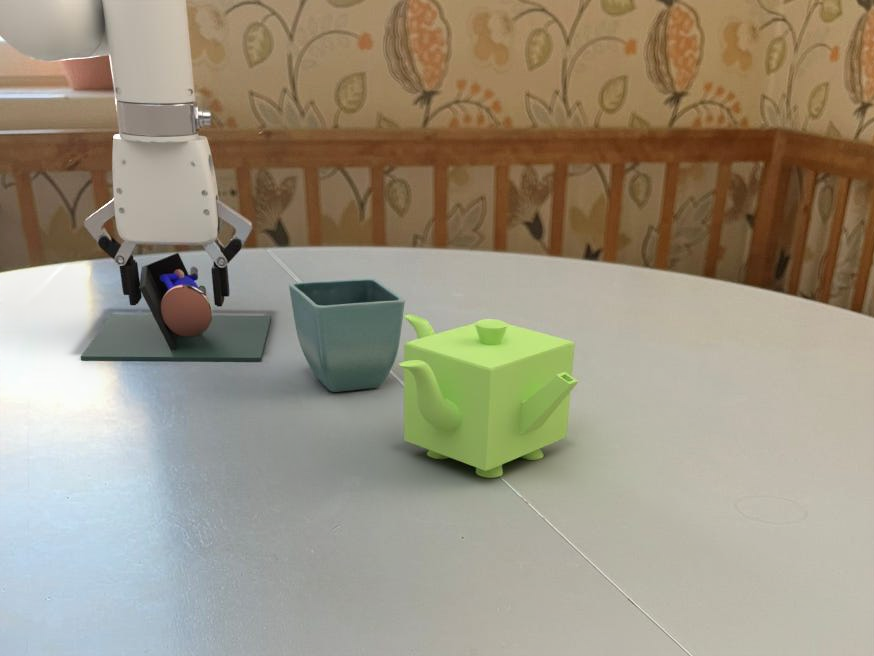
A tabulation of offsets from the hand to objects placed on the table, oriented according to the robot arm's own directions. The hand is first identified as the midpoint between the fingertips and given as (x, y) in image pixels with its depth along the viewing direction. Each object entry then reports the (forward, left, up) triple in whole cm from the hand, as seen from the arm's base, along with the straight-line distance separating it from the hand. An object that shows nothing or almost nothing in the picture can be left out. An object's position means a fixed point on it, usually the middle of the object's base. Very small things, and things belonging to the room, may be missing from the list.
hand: (178, 302), depth 112 cm
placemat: (0, 0, -4) cm, 4 cm away
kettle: (+29, -33, -4) cm, 44 cm away
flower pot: (+18, -15, -4) cm, 24 cm away
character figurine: (0, 0, -4) cm, 4 cm away
